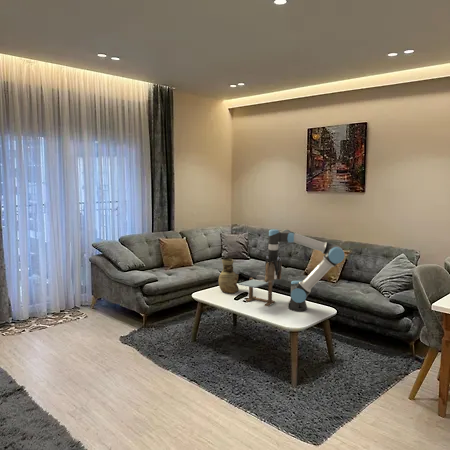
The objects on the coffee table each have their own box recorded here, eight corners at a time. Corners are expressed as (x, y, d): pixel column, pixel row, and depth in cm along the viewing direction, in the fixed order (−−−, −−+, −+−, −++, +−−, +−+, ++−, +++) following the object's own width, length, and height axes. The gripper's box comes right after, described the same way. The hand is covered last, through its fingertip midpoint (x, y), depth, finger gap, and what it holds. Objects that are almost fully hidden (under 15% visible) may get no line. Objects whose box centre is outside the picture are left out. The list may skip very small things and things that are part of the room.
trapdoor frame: (274, 302, 344) (275, 280, 341) (267, 306, 334) (268, 283, 331) (252, 297, 356) (253, 276, 354) (245, 301, 346) (246, 279, 344)
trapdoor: (274, 285, 347) (274, 277, 346) (254, 291, 320) (255, 282, 320) (258, 282, 356) (258, 274, 356) (238, 288, 329) (238, 279, 329)
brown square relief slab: (266, 282, 309) (267, 263, 308) (263, 281, 313) (263, 262, 311) (282, 279, 320) (282, 260, 318) (278, 278, 323) (278, 259, 321)
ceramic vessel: (244, 292, 374) (245, 260, 370) (225, 295, 363) (225, 262, 359) (233, 287, 390) (233, 256, 386) (214, 290, 379) (214, 259, 375)
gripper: (285, 249, 311) (284, 279, 314) (265, 247, 321) (265, 275, 324) (281, 251, 305) (280, 281, 308) (261, 248, 315) (260, 277, 318)
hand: (272, 278), depth 316 cm, fingers closed on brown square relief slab, 4 cm apart
